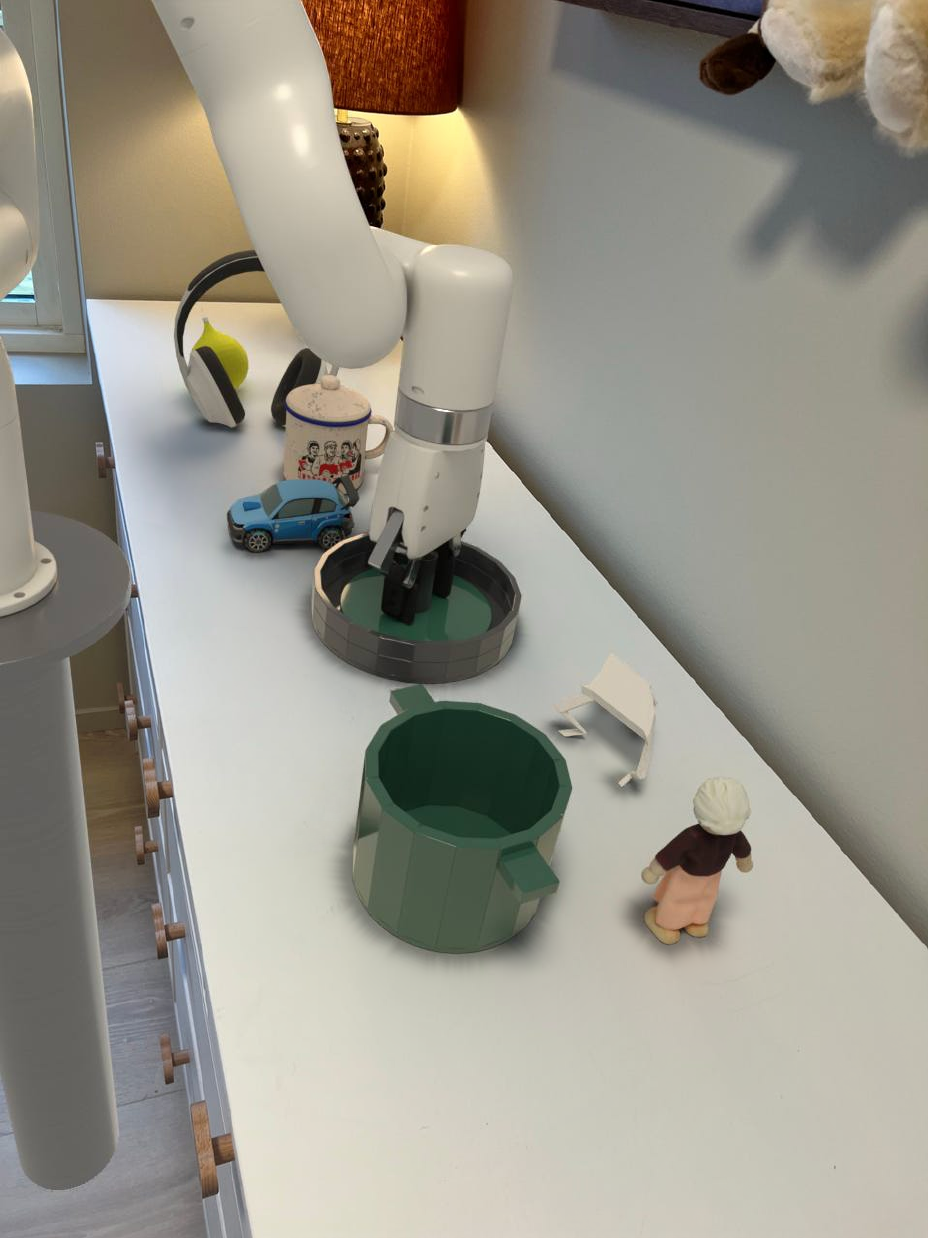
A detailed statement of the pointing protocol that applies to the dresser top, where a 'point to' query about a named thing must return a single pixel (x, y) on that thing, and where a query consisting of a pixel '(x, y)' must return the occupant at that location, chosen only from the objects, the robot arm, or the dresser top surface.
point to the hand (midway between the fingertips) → (416, 601)
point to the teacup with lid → (329, 433)
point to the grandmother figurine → (699, 861)
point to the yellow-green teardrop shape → (225, 352)
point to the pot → (457, 822)
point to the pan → (407, 655)
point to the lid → (419, 606)
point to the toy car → (294, 514)
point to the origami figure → (618, 705)
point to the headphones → (205, 367)
